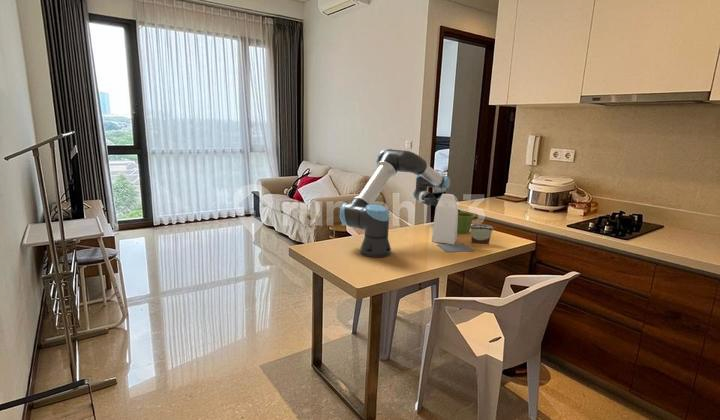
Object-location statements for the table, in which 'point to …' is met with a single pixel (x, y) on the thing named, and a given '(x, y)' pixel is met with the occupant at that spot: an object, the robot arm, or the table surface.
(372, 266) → the table surface
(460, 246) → the mat
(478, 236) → the food container
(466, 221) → the plant pot
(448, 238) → the milk
